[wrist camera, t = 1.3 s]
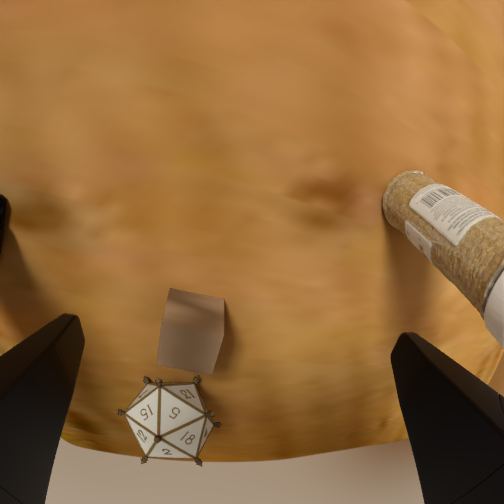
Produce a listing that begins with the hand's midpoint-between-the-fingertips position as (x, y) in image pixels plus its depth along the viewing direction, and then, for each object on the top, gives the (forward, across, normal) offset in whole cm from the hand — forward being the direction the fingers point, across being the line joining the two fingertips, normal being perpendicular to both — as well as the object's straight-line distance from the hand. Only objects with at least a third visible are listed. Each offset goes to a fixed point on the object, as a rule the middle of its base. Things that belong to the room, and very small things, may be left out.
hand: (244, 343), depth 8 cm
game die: (+13, +4, +19) cm, 24 cm away
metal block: (+13, +2, +10) cm, 17 cm away
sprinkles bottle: (+14, -12, -1) cm, 18 cm away
